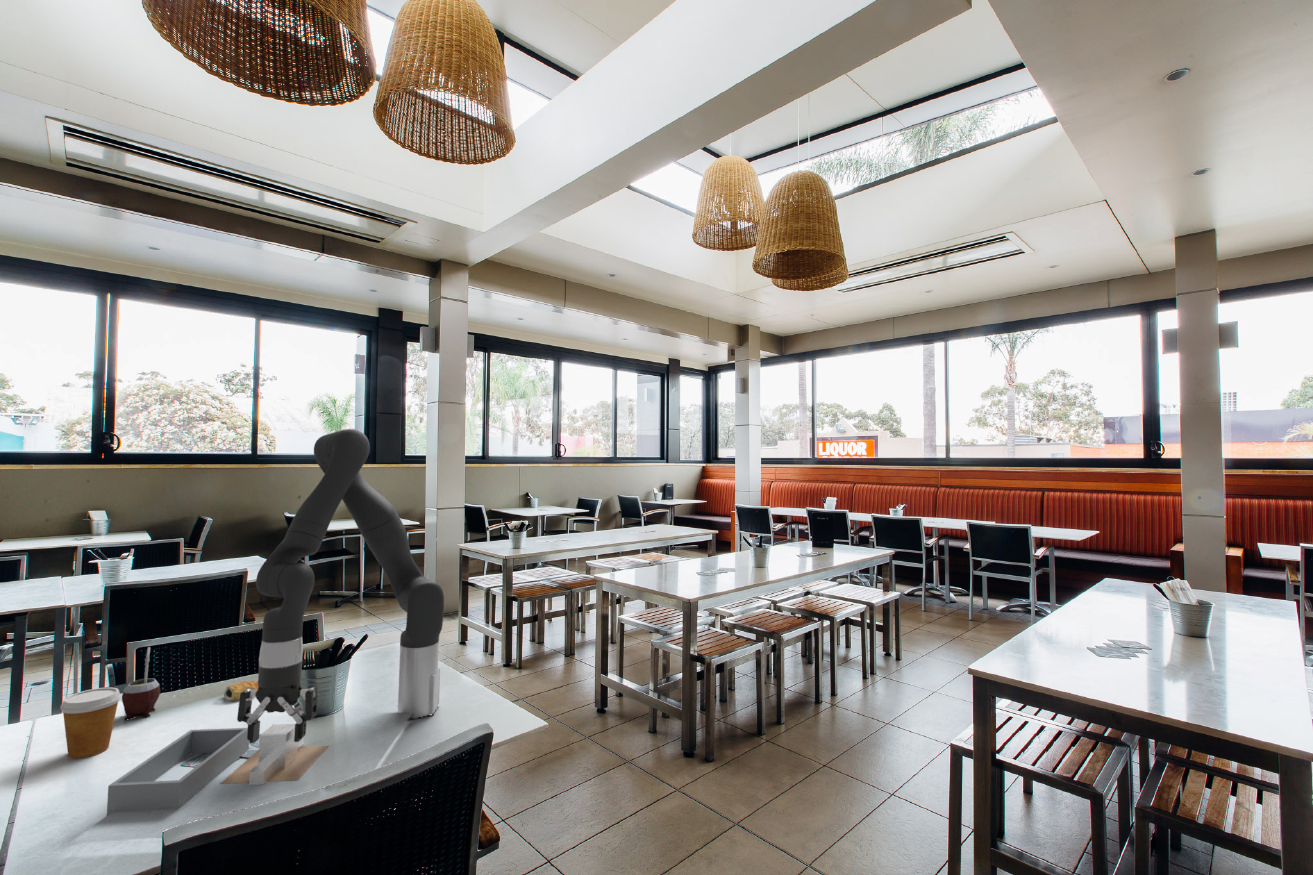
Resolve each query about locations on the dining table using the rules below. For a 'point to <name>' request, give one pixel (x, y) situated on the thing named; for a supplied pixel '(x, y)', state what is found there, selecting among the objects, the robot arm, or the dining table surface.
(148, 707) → the mate gourd
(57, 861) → the dining table surface
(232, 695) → the pastry
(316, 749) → the stud base
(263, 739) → the strut
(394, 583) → the robot arm
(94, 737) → the disposable coffee cup
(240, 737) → the bin
